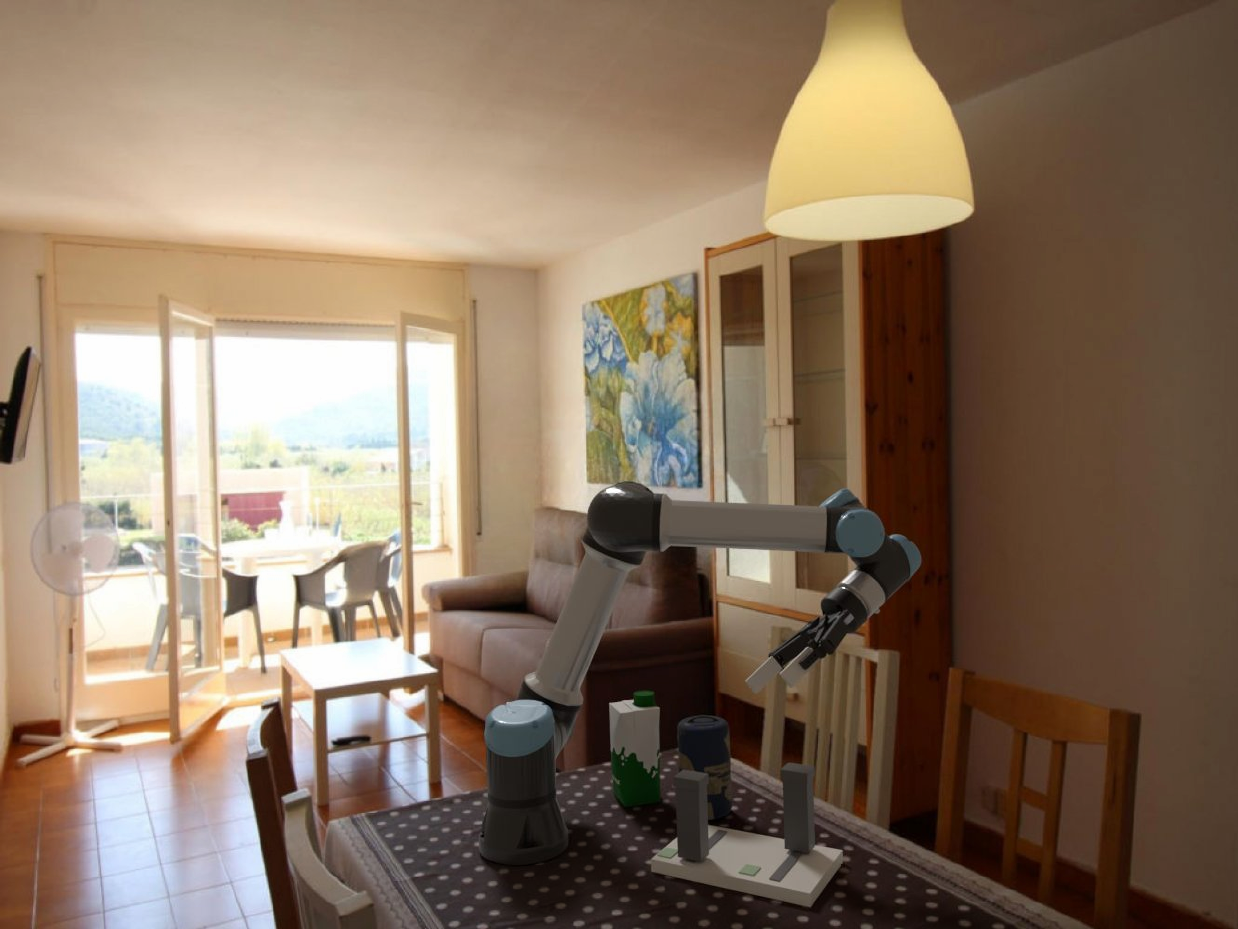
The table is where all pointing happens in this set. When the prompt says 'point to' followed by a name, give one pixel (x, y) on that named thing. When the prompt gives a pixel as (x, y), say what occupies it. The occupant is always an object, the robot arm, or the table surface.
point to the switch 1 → (692, 814)
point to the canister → (708, 758)
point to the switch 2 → (798, 807)
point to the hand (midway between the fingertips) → (767, 684)
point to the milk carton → (635, 749)
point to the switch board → (754, 866)
